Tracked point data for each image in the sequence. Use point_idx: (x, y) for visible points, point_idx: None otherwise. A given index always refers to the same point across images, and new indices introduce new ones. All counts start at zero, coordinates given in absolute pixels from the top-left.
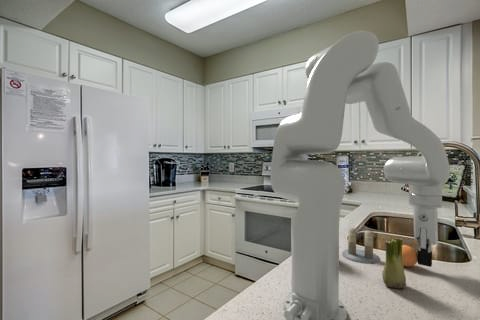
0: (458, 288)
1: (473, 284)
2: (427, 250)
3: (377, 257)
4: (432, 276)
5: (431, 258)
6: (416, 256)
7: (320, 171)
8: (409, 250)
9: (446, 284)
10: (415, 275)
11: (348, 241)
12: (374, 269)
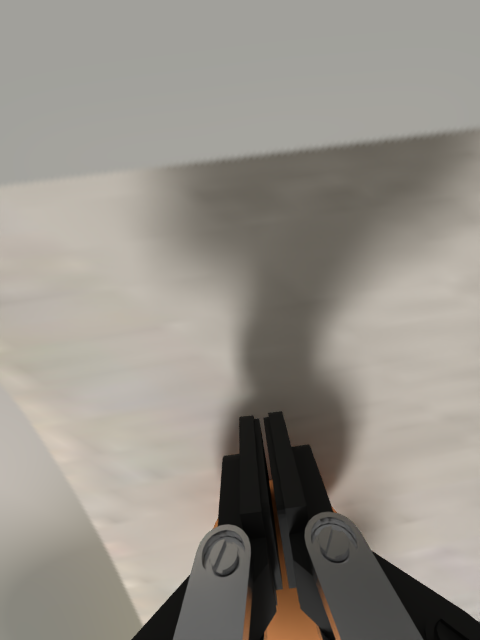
0: (411, 228)
1: (266, 165)
2: (402, 571)
3: None
4: (325, 370)
5: (292, 456)
6: None
7: None
8: None
9: (396, 291)
10: (382, 434)
11: None
12: (448, 574)
